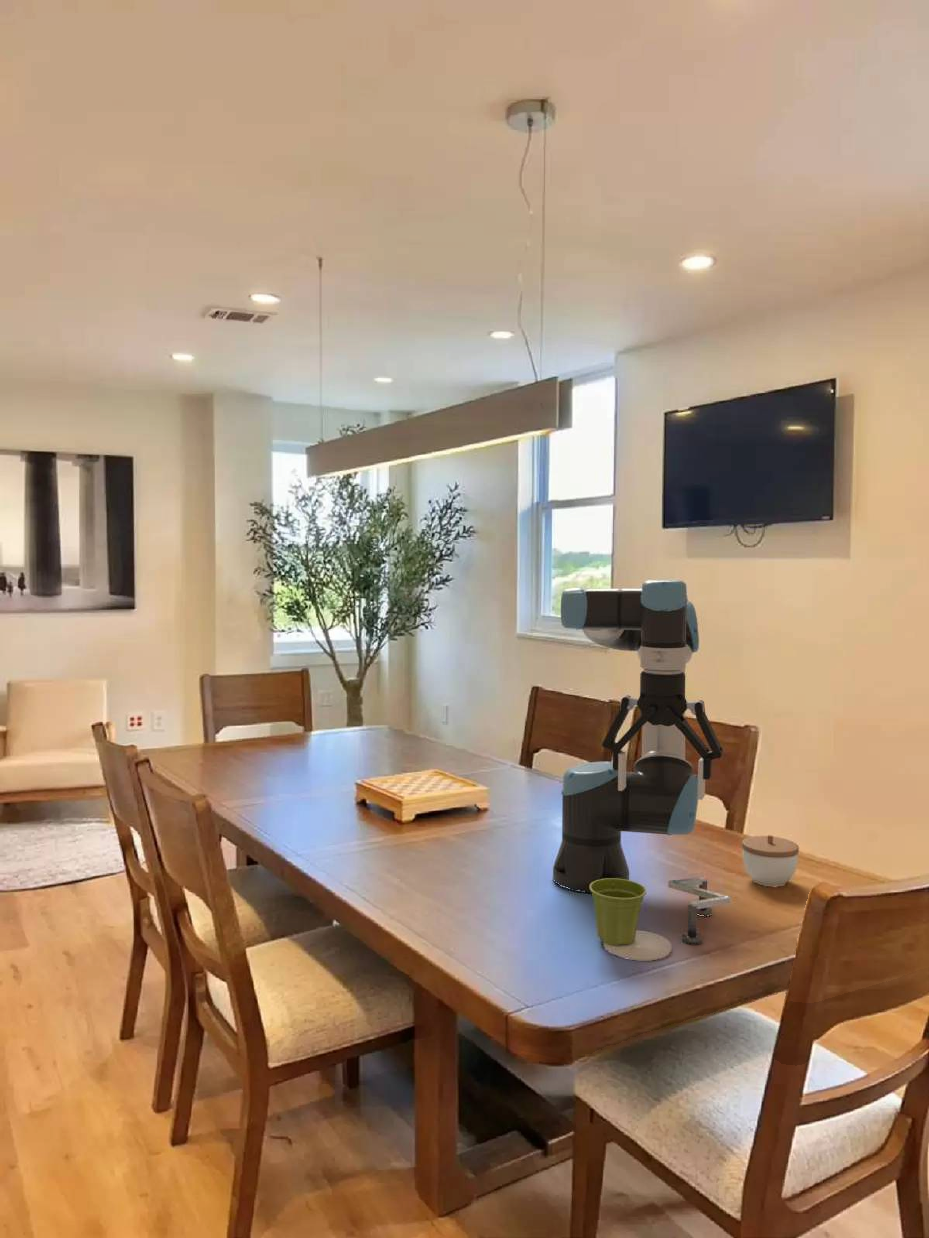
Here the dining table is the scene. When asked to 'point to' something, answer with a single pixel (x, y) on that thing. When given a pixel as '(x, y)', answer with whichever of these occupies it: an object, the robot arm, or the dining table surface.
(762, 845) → the lidded jar
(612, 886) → the plant pot
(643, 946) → the pad
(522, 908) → the dining table surface
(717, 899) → the zigzag bar on posts
